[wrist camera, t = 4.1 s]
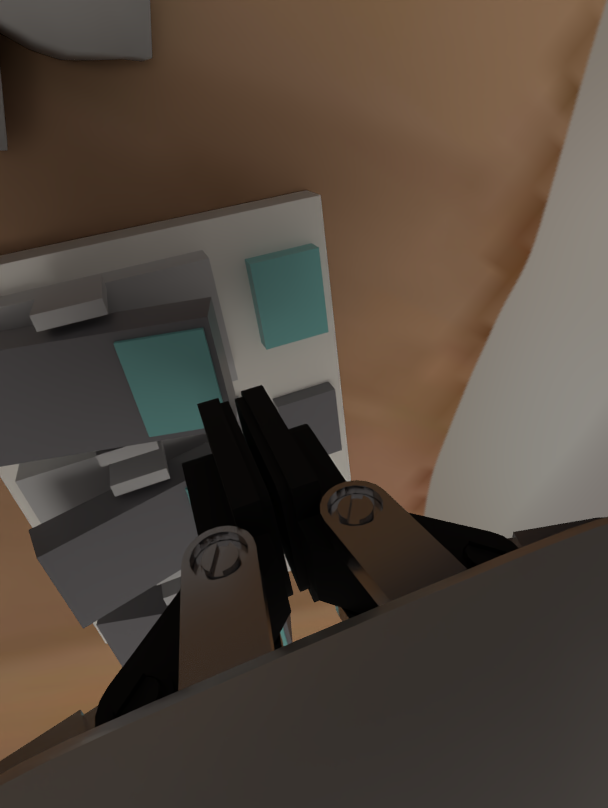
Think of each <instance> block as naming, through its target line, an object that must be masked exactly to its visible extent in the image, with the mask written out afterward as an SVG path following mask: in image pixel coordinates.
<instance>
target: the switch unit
mask: <svg viewBox="0 0 608 808" xmlns="http://www.w3.org/2000/svg"><path fill="white" fill-rule="evenodd" d="M207 297H211V298H212V302H213V306H214V310H215V314H216V318H217V322H218V326H219V330H220V334H221V338H222V342H223V346H224V350H225V354H226V358H227V362H228V366H229V371H230V375H231V379H232V383H233V387H234V391H235V395H236V398H239V397H242V396H241V391H243V390H246V389H249V388H253V387H256V386H260V385H262V386H263V387H264V389H265V390H266V392H267V394H268V396H269V397H270V399H271V401H272V402H273V404H274V406H275V407H276V409H277V411H278V412H279V414H280V416H281V417H282V419H283V421H284V423H285V424H286V426H287V428H288V429H290V428H293V427H296V426H300V425H303V424H308V425H309V427H310V428H311V429H312V431H313V432H314V434H315V435H316V437H317V438H318V440H319V441H320V443H321V444H322V446H323V447H324V449H325V450H326V452H327V453H328V455H329V456H330V458H331V459H332V461H333V462H334V464H335V465H336V467H337V468H338V470H339V471H340V473H341V474H342V476H343V477H344V479H345V480H346V481H351V477H350V467H349V458H348V449H347V439H346V430H345V420H344V411H343V401H342V392H341V383H340V373H339V364H338V354H337V345H336V335H335V326H334V316H333V307H332V298H331V288H330V279H329V269H328V260H327V250H326V241H325V232H324V222H323V213H322V203H321V195H319V194H316V193H314V192H311V191H308V190H305V191H300V192H296V193H291V194H286V195H282V196H277V197H272V198H267V199H263V200H258V201H253V202H249V203H244V204H239V205H235V206H230V207H225V208H221V209H216V210H211V211H206V212H202V213H197V214H192V215H188V216H183V217H178V218H174V219H169V220H164V221H160V222H155V223H150V224H146V225H141V226H136V227H131V228H127V229H122V230H117V231H113V232H108V233H103V234H99V235H94V236H89V237H85V238H80V239H75V240H70V241H66V242H61V243H56V244H52V245H47V246H42V247H38V248H33V249H28V250H24V251H19V252H14V253H9V254H5V255H0V331H2V330H8V329H14V328H21V327H27V326H33V325H34V327H35V329H36V331H37V332H39V331H43V330H47V329H51V328H55V327H59V326H63V325H67V324H71V323H75V322H79V321H83V320H87V319H91V318H95V317H99V316H103V315H107V314H108V313H114V312H120V311H126V310H132V309H139V308H145V307H151V306H157V305H163V304H170V303H176V302H182V301H188V300H194V299H201V298H207ZM237 422H238V424H239V426H240V428H241V424H240V420H239V416H238V412H237ZM241 431H242V428H241ZM242 433H243V432H242ZM207 441H208V439H207V436H206V433H204V434H198V435H192V436H186V437H180V438H174V439H167V440H161V441H155V442H149V443H143V444H137V445H131V446H124V447H118V448H112V449H106V450H100V451H94V452H88V453H81V454H75V455H69V456H63V457H57V458H51V459H45V460H38V461H32V462H26V463H20V464H14V465H8V466H2V467H0V477H1V479H2V480H3V482H4V483H5V485H6V487H7V488H8V490H9V491H10V493H11V494H12V496H13V498H14V499H15V501H16V502H17V504H18V505H19V507H20V509H21V510H22V512H23V513H24V515H25V517H26V518H27V520H28V521H29V523H30V524H31V526H32V528H34V527H36V526H38V525H40V524H42V523H44V522H46V521H48V520H50V519H52V518H54V517H56V516H58V515H60V514H62V513H64V512H66V511H68V510H70V509H72V508H74V507H76V506H78V505H80V504H82V503H84V502H86V501H88V500H90V499H92V498H94V497H96V496H98V495H100V494H102V493H104V492H106V491H108V490H110V489H112V491H113V494H114V496H115V497H116V496H119V495H122V494H125V493H128V492H131V491H134V490H137V489H140V488H143V487H146V486H149V485H152V484H155V483H158V482H161V481H164V480H167V479H170V474H169V470H168V465H167V461H169V460H171V459H173V458H175V457H177V456H179V455H181V454H183V453H185V452H187V451H189V450H191V449H193V448H195V447H197V446H199V445H201V444H203V443H205V442H207ZM284 556H285V555H284ZM285 560H286V565H287V569H288V571H291V569H290V567H289V564H288V562H287V559H286V557H285ZM160 584H161V586H162V593H163V599H164V601H165V603H166V605H169V604H170V603H171V601H172V600H173V599H174V597H175V596H176V594H177V593H178V592H179V590H180V589H181V570H180V571H178V572H176V573H175V574H173V575H171V576H170V577H168V578H166V579H165V580H163V581H161V582H160V583H158V584H157V585H160ZM93 624H94V626H95V627H96V629H97V630H98V632H99V634H100V635H101V637H102V638H103V640H104V641H105V643H106V644H107V641H106V640H105V638H104V637H103V635H102V633H101V632H100V630H99V629H98V627H97V625H96V624H97V621H95V622H93Z"/></svg>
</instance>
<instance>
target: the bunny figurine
mask: <svg viewBox="0 0 608 808" xmlns="http://www.w3.org/2000/svg"><path fill="white" fill-rule="evenodd" d="M0 33H1V34H3V35H5V36H6V37H8V38H10V39H12V40H13V41H15V42H17V43H19V44H20V45H22V46H24V47H26V48H28V49H30V50H33V51H36V52H39V53H42V54H45V55H48V56H51V57H54V58H57V59H60V60H114V59H125V60H133V61H145V60H148V59H151V58H152V39H151V13H150V0H0ZM7 149H8V144H7V133H6V123H5V112H4V101H3V90H2V80H1V69H0V150H7Z"/></svg>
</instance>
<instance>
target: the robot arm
mask: <svg viewBox="0 0 608 808" xmlns="http://www.w3.org/2000/svg"><path fill="white" fill-rule="evenodd" d="M241 396H242V397H239V398H236V399H235V404H236V408H237V412H238V416H239V420H240V424H241V428H242V431H241V428H240V426H239V424H238V422H237V419H236V417H235V415H234V413H233V410H232V408H231V406H230V404H229V401H226V402H222V403H220V401H219V398H216V399H212V400H209V401H205V402H202V403H199V404H197V406H198V409H199V413H200V416H201V419H202V422H203V426H204V429H205V432H206V436H207V439H208V442H209V445H210V449H211V452H212V454H209V455H206V456H203V457H199V458H196V459H193V460H190V461H187V462H184V463H182V468H183V472H184V477H185V481H186V485H187V490H188V494H189V499H190V503H191V507H192V512H193V516H194V521H195V525H196V529H197V534H198V536H197V537H196V538H195V539H194V540H193V541H192V542H191V543H190V544H189V545H188V547H187V549H186V550H185V552H184V554H183V558H182V562H181V589H180V590H179V592H178V593H177V594H176V596H175V597H174V599H173V600H172V601H171V603H170V604H169V605H168V607H167V608H166V609H165V611H164V612H163V613H162V615H161V616H160V617H159V619H158V620H157V621H156V623H155V624H154V625H153V627H152V628H151V630H150V631H149V632H148V634H147V635H146V636H145V638H144V639H143V640H142V642H141V643H140V644H139V646H138V647H137V648H136V650H135V651H134V652H133V654H132V655H131V656H130V658H129V659H128V661H127V662H126V663H125V665H124V666H123V667H122V669H121V670H120V671H119V673H118V674H117V675H116V677H115V678H114V679H113V681H112V682H111V683H110V685H109V686H108V688H107V689H106V691H105V693H104V694H103V696H102V698H101V700H100V702H99V705H98V706H97V707H95V708H93V709H92V710H90V711H89V712H87V713H86V714H83V713H82V711H81V710H79V711H77V712H76V713H74V714H73V715H71V716H70V717H68V718H67V719H65V720H63V721H62V722H60V723H59V724H57V725H56V726H54V727H53V728H51V729H49V730H48V731H46V732H45V733H43V734H42V735H40V736H38V737H37V738H35V739H34V740H32V741H31V742H29V743H28V744H26V745H24V746H23V747H21V748H20V749H18V750H17V751H15V752H14V753H12V754H10V755H9V756H7V757H6V758H4V759H3V760H1V761H0V808H608V517H601V518H592V519H586V520H581V521H575V522H569V523H563V524H558V525H551V526H546V527H540V528H534V529H528V530H523V531H516V532H513V538H508V539H507V538H505V537H504V536H501V535H499V534H496V533H493V532H490V531H485V530H481V529H477V528H472V527H468V526H464V525H459V524H455V523H451V522H446V521H442V520H438V519H433V518H429V517H425V516H420V515H416V514H412V513H408V512H407V511H406V510H405V509H404V508H403V507H402V506H401V505H399V504H398V503H397V502H396V501H395V500H394V499H393V498H392V497H391V496H390V495H389V494H388V493H387V492H386V491H385V490H384V489H382V488H381V487H379V486H378V485H376V484H373V483H370V482H367V481H359V480H355V481H346V480H345V479H344V477H343V476H342V474H341V473H340V471H339V470H338V468H337V467H336V465H335V464H334V462H333V461H332V459H331V458H330V456H329V455H328V453H327V452H326V450H325V449H324V447H323V446H322V444H321V443H320V441H319V440H318V438H317V437H316V435H315V434H314V432H313V431H312V429H311V428H310V427H309V425H308V424H303V425H300V426H296V427H293V428H290V429H288V428H287V426H286V424H285V423H284V421H283V419H282V417H281V416H280V414H279V412H278V411H277V409H276V407H275V406H274V404H273V402H272V401H271V399H270V397H269V396H268V394H267V392H266V390H265V389H264V387H263V386H262V385H260V386H256V387H253V388H249V389H246V390H243V391H241ZM242 432H243V433H242ZM284 555H285V556H284ZM285 557H286V559H287V562H288V564H289V567H290V569H291V571H292V574H293V576H294V579H295V581H296V583H297V586H298V588H299V590H300V592H301V591H304V590H306V589H309V592H310V594H311V596H312V599H313V601H314V602H317V601H319V600H320V601H323V602H326V603H329V604H332V605H335V606H336V610H337V613H338V615H339V617H340V619H341V620H342V621H343V622H340V623H338V624H335V625H333V626H331V627H328V628H326V629H324V630H321V631H319V632H316V633H314V634H312V635H309V636H307V637H304V638H302V639H300V640H297V641H295V642H293V643H290V644H288V645H285V646H283V641H282V637H281V633H280V632H281V630H282V628H283V626H284V624H285V623H286V621H287V619H288V617H289V615H290V613H291V608H290V604H289V600H288V597H289V596H291V595H293V590H292V586H291V582H290V577H289V573H288V569H287V565H286V560H285Z"/></svg>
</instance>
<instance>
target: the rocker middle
mask: <svg viewBox="0 0 608 808" xmlns="http://www.w3.org/2000/svg"><path fill="white" fill-rule="evenodd" d="M209 454H212V452H211V449H210V445H209V442H208V441H207V442H205V443H203V444H201V445H199V446H197V447H195V448H193V449H191V450H189V451H187V452H185V453H183V454H181V455H179V456H177V457H175V458H173V459H171V460H169V461H167V465H168V470H169V474H170V479H167V480H164V481H161V482H158V483H155V484H152V485H149V486H146V487H143V488H140V489H137V490H134V491H131V492H128V493H125V494H122V495H119V496H116V497H115V496H114V494H113V491H112V489H110V490H108V491H106V492H104V493H102V494H100V495H98V496H96V497H94V498H92V499H90V500H88V501H86V502H84V503H82V504H80V505H78V506H76V507H74V508H72V509H70V510H68V511H66V512H64V513H62V514H60V515H58V516H56V517H54V518H52V519H50V520H48V521H46V522H44V523H42V524H40V525H38V526H36V527H34V528H32V529H30V530H29V533H30V536H31V540H32V543H33V547H34V550H35V553H36V557H37V559H38V561H39V562H40V564H41V565H42V567H43V568H44V570H45V571H46V573H47V574H48V576H49V577H50V579H51V580H52V582H53V583H54V585H55V586H56V588H57V589H58V591H59V592H60V594H61V596H62V597H63V599H64V600H65V602H66V603H67V605H68V606H69V608H70V609H71V611H72V612H73V614H74V615H75V617H76V618H77V620H78V621H79V623H80V624H81V626H82V627H83V628H85V627H87V626H88V625H90V624H92V623H93V622H95V621H97V620H98V619H100V618H102V617H103V616H105V615H107V614H108V613H110V612H112V611H113V610H115V609H117V608H118V607H120V606H122V605H123V604H125V603H127V602H128V601H130V600H132V599H133V598H135V597H136V596H138V595H140V594H141V593H143V592H145V591H146V590H148V589H150V588H151V587H153V586H155V585H156V584H158V583H160V582H161V581H163V580H165V579H166V578H168V577H170V576H171V575H173V574H175V573H176V572H178V571H180V570H181V562H182V558H183V554H184V552H185V550H186V549H187V547H188V545H189V544H190V543H191V542H192V541H193V540H194V539H195V538H196V537H197V536H198V534H197V529H196V525H195V521H194V516H193V512H192V507H191V503H190V499H189V494H188V490H187V485H186V481H185V477H184V472H183V468H182V463H184V462H187V461H190V460H193V459H196V458H199V457H203V456H206V455H209Z"/></svg>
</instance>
